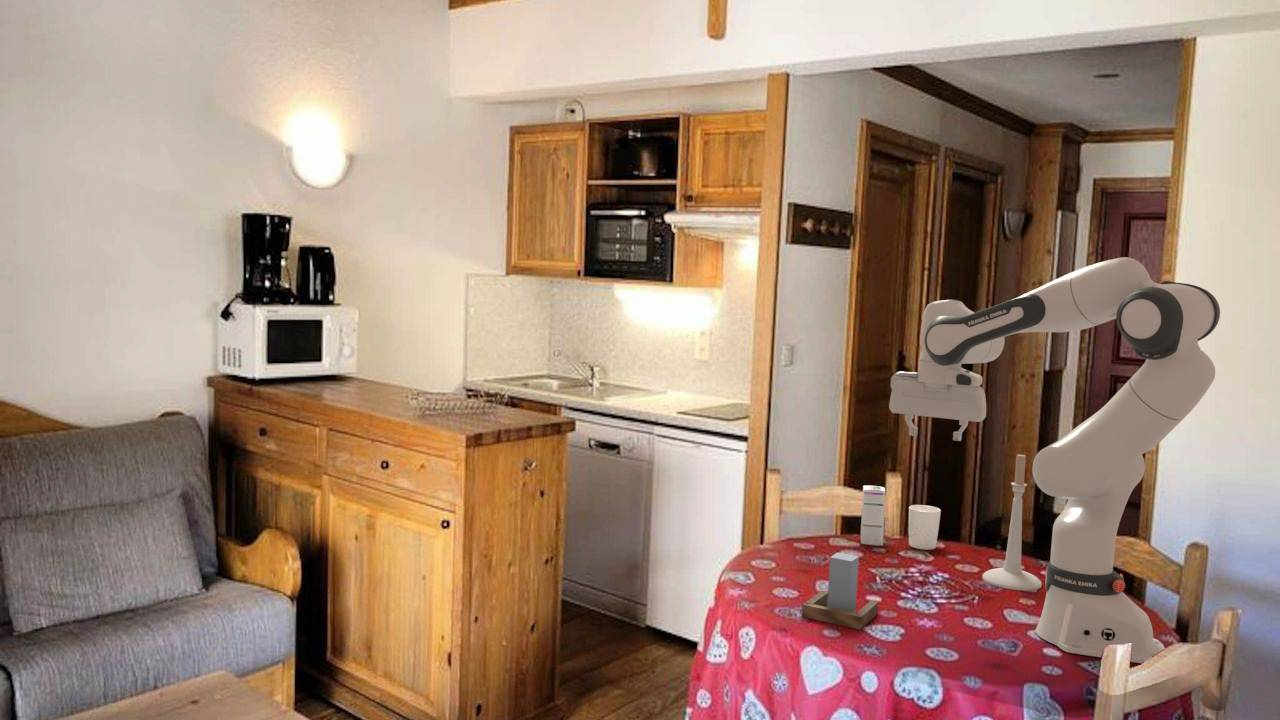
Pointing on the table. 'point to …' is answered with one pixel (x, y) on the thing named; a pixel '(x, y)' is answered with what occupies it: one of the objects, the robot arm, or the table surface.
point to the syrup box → (873, 515)
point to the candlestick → (1014, 544)
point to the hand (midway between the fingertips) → (934, 437)
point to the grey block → (843, 582)
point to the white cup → (923, 526)
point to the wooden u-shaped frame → (838, 612)
